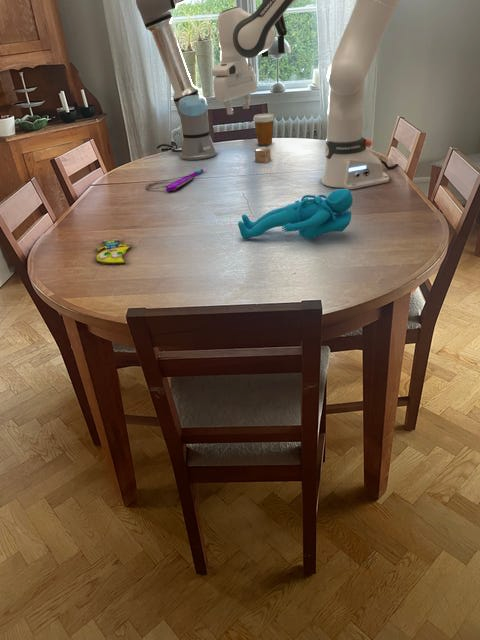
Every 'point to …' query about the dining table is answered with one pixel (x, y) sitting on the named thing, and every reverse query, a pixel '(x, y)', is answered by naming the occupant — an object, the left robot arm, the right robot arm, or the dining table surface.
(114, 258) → the toy
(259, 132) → the beer glass
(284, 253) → the dining table surface
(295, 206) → the toy
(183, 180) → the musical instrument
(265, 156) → the block
